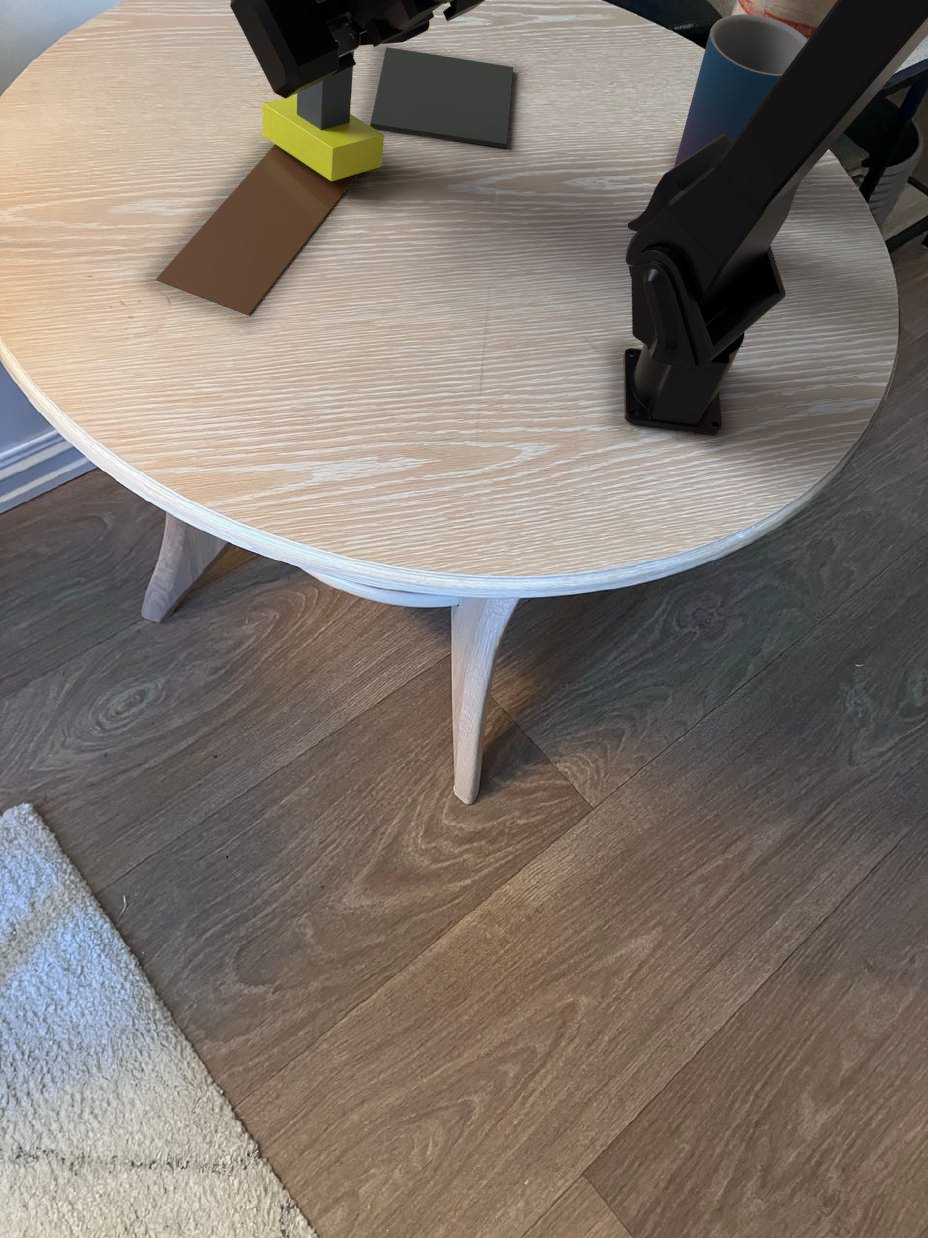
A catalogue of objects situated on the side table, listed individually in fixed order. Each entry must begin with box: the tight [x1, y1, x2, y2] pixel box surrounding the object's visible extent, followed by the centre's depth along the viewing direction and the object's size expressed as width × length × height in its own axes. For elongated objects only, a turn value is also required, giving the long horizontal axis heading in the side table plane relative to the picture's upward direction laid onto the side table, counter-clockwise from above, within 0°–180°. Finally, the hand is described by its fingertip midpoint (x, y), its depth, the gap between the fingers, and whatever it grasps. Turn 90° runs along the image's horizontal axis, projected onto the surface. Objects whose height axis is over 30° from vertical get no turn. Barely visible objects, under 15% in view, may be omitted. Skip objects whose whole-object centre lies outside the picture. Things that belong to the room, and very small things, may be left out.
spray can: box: [731, 0, 837, 40], centre depth 68 cm, size 8×8×20 cm
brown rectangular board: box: [155, 144, 360, 317], centre depth 67 cm, size 18×7×1 cm, turn 158°
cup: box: [673, 14, 808, 168], centre depth 65 cm, size 7×7×15 cm
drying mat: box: [369, 46, 514, 149], centre depth 77 cm, size 11×11×1 cm
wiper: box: [262, 15, 385, 181], centre depth 66 cm, size 5×8×14 cm, turn 44°
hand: (309, 46), depth 67 cm, fingers closed on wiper, 3 cm apart
